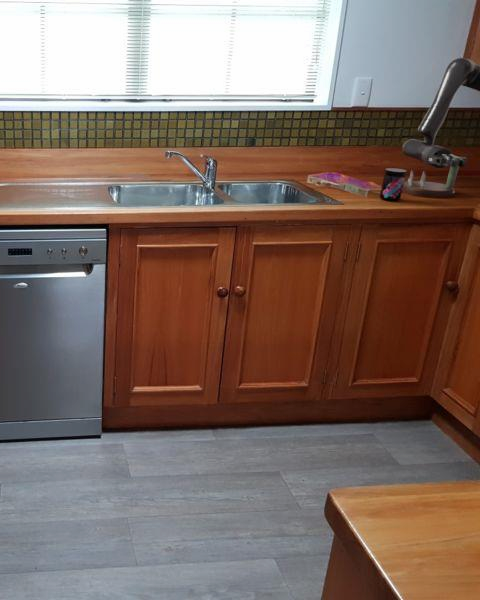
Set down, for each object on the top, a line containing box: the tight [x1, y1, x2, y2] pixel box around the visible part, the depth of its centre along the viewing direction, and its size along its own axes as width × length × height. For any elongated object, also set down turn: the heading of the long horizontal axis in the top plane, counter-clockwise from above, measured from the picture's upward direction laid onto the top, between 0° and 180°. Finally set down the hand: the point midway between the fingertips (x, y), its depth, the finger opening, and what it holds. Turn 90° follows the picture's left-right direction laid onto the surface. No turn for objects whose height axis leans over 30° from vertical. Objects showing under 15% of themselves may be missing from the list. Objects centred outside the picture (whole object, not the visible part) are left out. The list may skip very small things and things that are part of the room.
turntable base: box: [402, 187, 456, 199], centre depth 226 cm, size 18×18×2 cm
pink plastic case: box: [306, 171, 382, 198], centre depth 229 cm, size 30×15×5 cm, turn 21°
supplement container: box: [379, 167, 408, 202], centre depth 213 cm, size 7×7×10 cm
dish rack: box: [403, 156, 462, 193], centre depth 223 cm, size 17×17×12 cm
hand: (459, 164), depth 217 cm, fingers closed on dish rack, 2 cm apart
